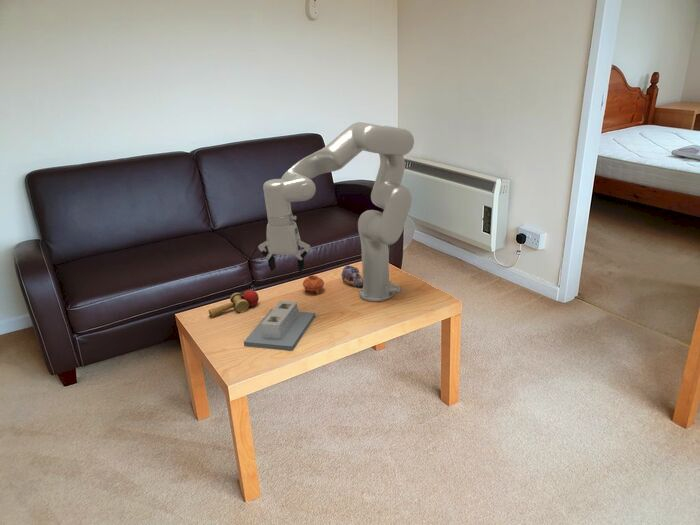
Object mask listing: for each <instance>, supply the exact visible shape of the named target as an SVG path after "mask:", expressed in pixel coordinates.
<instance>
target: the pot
mask: <svg viewBox="0 0 700 525" xmlns="http://www.w3.org/2000/svg"><path fill="white" fill-rule="evenodd" d="M324 284H325V281H324V280H323V279H322V278H321V277H319V276H317V275H313V274H312V275H308V277H306V278H305V279H304V280H303V282H302V286H303V288H304V291H305V292H308V291H310V292H315V293H316V294H317V295H318V294H319V293H320V289H322V288H323V287H324Z"/></svg>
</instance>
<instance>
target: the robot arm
mask: <svg viewBox="0 0 700 525" xmlns="http://www.w3.org/2000/svg"><path fill="white" fill-rule="evenodd" d="M414 146H415V139H414V135H413V134H412V132H411V131H410V130H409V129H406V128H401V127H396V126H395V127H394V126H390V125H379V124H374V123H368V122H362V121H361V122H360V121H357V122H354V123H352V124H350V125H349V126H348V127H347V128H346V129H344V131H342V132H341V133H340V134H339V135H337V136H336V137H335V138H334V139H333V140H332V141H330V142H329V143H328V144H327V145H325V147H324V146H323V148H321V149H319V150H317V151H315V152H313V153H311V154H309V155H307V156H305V157H304V158H302V159H300V160H298V161H297V162H296V163H294V164H293V165H292V166H291V167H290V168H288V170H286V172H284V174H283V175H282V176H281V178H273V179H269V180H267V181H265V182H264V183H263V186H262V189H263V196H264V202H265V209H266V215H267V216H266V217H267V224H266V240H265V241H264V242H262V243H260V244H259V245H258V246H257V247H258V250H259V251H260V252H261V255H263V256H264V257H265V258H266V260H267V264H268V268H269V270H270V272H273V271H274V270H275V269H276V268H277V265H276V258H275V256H276V255H280V256H281V255H282V256H284V255H285V256H288V255H290V256H295V257H296V258H297V268H298V272H302V271H303V270H304V269H305V267H306V266H305V265H306V264H305V258H306V256H307V255H308V253H309V251H310V249H311V245H310V244H308V243H307V242H304V241H302V240H301V236H300V232H299V229H298V225H297V223H296V220H297V215H293V212H292V205H291V203H294V202H305V201H309V200H310V199H312V198H313V197H314V195H315V194H316V189H317V188H316V184H315V182H314V181H313V180H312V179H314V178H316V177H317V176H320V175H322V174H326V173H327V174H328V173H332V172H333V173H334V172H336V171H339V170H342V169H343V168H344V167H345V166H346V165H348V164H349V163H350V162H351V161H352V160H353V159H354V158H356V157H357V156H358V155H359V154H360V153H361V152H363V151H365V152H369V153H373V154H378V155H379V160H380V161H379V166H378V167H379V168H378V172H377V175H376V178H375V181H374V183H373V187H372V190H371V193H370V200H371V202H372V204H373V205H375V207H378V208H381V209H382V210H383V211H382V212H381V211H379V210H375V209H367V210H365V211H364V212H362V213H361V214H360V216H359V218H358V220H357V229H358V235H359V240H360V245H361V247H360V248H361V266H362V267H361V268H362V270H361V271H362V279H363V285H362V288H361V289H359V291H358V292H359V293H358V294H359V297H360V298H361V299H363V300H364V301H368V302H383V301H387V300H390V299H391V298H392V297H393V296H394V295H395V293H397V294H401V293H402V287H400V285H398V284H392V280H390V266H389V264H390V260H389V258H390V256H389V253H390V251H389V246H390V245H393V244H395V243H396V242H397V241H398V240H399V239H400V237H401V236H402V233H403V230H404V228H405V225H406V222H407V219H408V216H409V213H410V211H411V207H412V194H411V191H410V190H409V189H408V188H407V187H406V186H404V185H402V184H401V183H402V181H403V177H404V173H405V169H406V168H405V167H406V166H405V165H406V164H405V163H406V162H405V157H404V156H405V155H408V154H409V153H411V151H412V150H413V148H414ZM265 247H267V249H266V248H265ZM302 248H303V249H304V251H302V250H301V249H302ZM274 255H275V256H274Z"/></svg>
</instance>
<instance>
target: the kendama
mask: <svg viewBox="0 0 700 525" xmlns="http://www.w3.org/2000/svg"><path fill="white" fill-rule="evenodd" d="M259 298H260V296H259V294H258V293H257V291H255V290H253V289H248V290H245V291H244V292H243V293H242V294H241V293H240V292H234V293H232V294H231V295H230V298H229V299H230V302H229V303H225V304H223V305H219V306H216V307H213V308H211V309H208V314H209V316H210V317H211V318H214V317H216V316H219V315H220V314H223V313H224V312H226V311H229V310H230V309H233V308H235V310H236V312H238V313H245V312H246V311H248V310H249V308H250V307H255V306H256V305H257V304H258V303H259V300H260V299H259Z"/></svg>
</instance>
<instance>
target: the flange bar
mask: <svg viewBox="0 0 700 525" xmlns="http://www.w3.org/2000/svg"><path fill="white" fill-rule="evenodd" d="M298 311H299V309H298V301H286V300H279V302H278V303H277V304H276V306H274V307H273V310H272V311H271V313H270V314H269V315H268V316H267V317H266V318H265V320H264V321H263V322H262V323H261V329H262V336H263V338H268V339H279V340H281V339H282V337H283V336H284V334H285V333H286V332H287V330H288V329H289V328H290V326H291V325H292V324H293V322H294V321H295V320H296V318H297V317H298Z"/></svg>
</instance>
